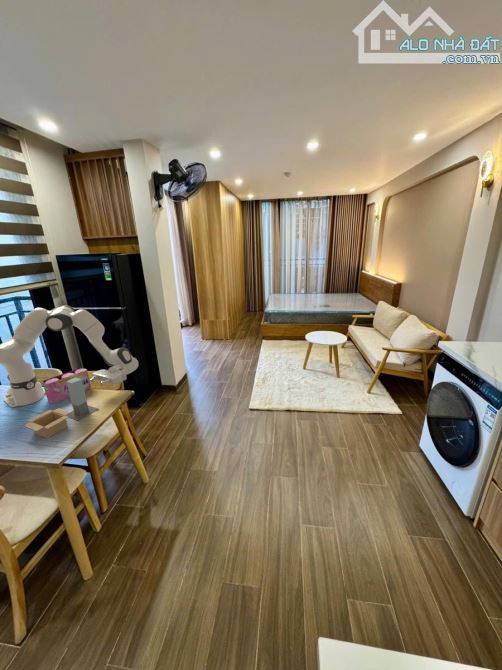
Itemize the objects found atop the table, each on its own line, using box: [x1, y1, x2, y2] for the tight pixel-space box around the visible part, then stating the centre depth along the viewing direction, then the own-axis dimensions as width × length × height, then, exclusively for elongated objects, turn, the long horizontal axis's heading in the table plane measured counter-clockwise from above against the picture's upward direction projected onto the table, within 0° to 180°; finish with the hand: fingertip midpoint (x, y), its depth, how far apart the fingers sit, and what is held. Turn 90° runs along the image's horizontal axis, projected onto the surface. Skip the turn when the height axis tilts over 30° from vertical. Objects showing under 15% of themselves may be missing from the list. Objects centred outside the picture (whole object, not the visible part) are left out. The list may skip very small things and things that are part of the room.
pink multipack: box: [41, 367, 92, 405], centre depth 163 cm, size 24×8×14 cm, turn 147°
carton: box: [23, 407, 71, 439], centre depth 130 cm, size 16×16×7 cm
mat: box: [66, 404, 100, 422], centre depth 145 cm, size 12×12×1 cm
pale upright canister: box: [66, 378, 89, 415], centre depth 142 cm, size 5×5×20 cm
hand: (95, 382), depth 151 cm, fingers open, 8 cm apart
